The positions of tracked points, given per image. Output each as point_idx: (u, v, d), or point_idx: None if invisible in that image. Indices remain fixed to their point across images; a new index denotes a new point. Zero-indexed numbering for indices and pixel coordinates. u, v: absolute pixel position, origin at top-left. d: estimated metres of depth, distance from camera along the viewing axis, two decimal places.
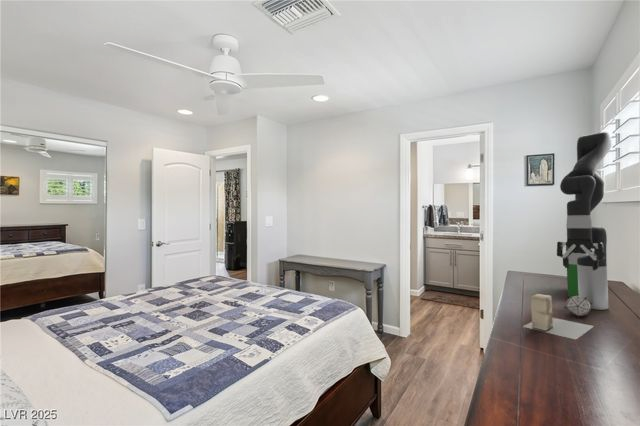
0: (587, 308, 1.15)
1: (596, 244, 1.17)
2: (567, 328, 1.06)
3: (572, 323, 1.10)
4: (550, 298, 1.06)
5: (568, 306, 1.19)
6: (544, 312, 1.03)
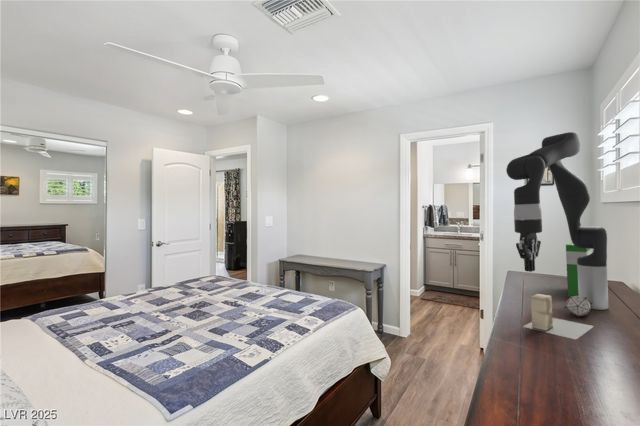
0: (587, 308, 1.15)
1: None
2: (567, 328, 1.06)
3: (572, 323, 1.10)
4: (550, 298, 1.06)
5: (568, 306, 1.19)
6: (544, 312, 1.03)
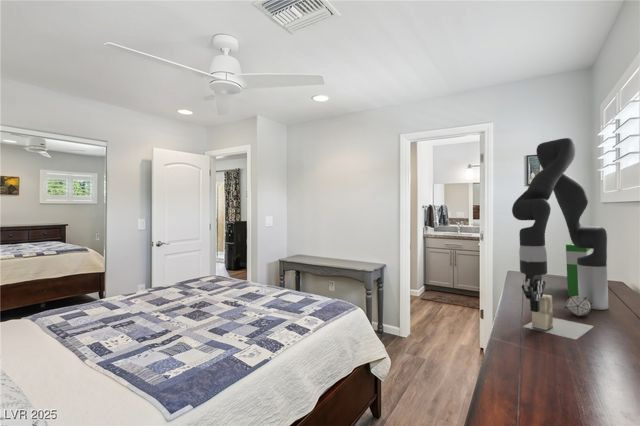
0: (587, 308, 1.15)
1: None
2: (567, 328, 1.06)
3: (572, 323, 1.10)
4: (550, 298, 1.06)
5: (568, 306, 1.19)
6: (545, 311, 1.03)
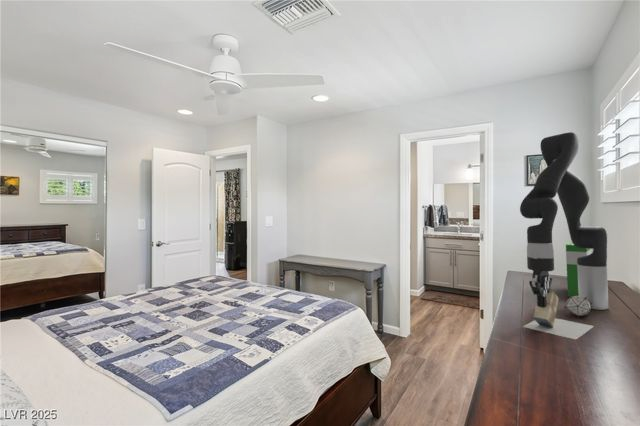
0: (587, 308, 1.15)
1: None
2: (567, 328, 1.06)
3: (572, 323, 1.10)
4: (557, 299, 1.10)
5: (568, 306, 1.19)
6: (550, 302, 1.06)
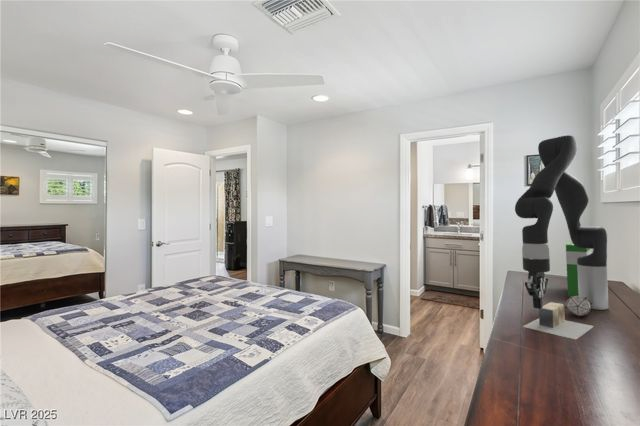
0: (587, 308, 1.15)
1: None
2: (567, 328, 1.06)
3: (572, 323, 1.10)
4: (563, 318, 1.12)
5: (568, 306, 1.19)
6: (559, 306, 1.10)
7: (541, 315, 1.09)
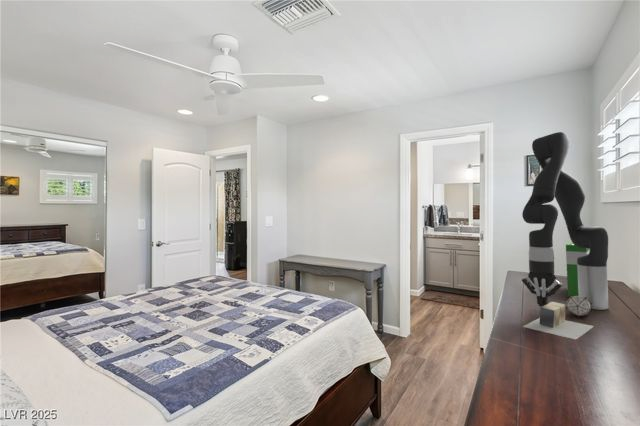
0: (587, 308, 1.15)
1: None
2: (567, 328, 1.06)
3: (572, 323, 1.10)
4: (564, 318, 1.12)
5: (568, 306, 1.19)
6: (560, 307, 1.10)
7: (542, 314, 1.09)
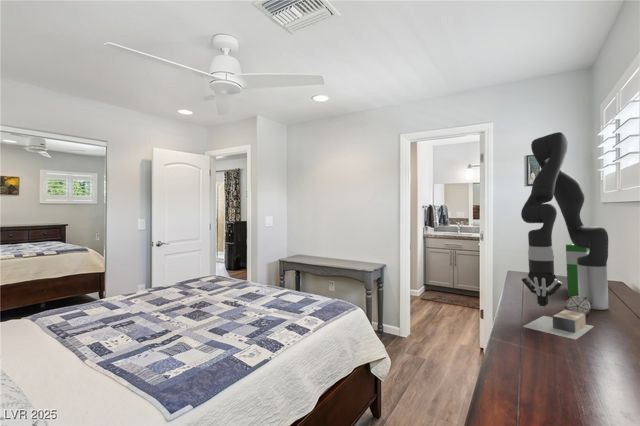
0: (587, 308, 1.15)
1: None
2: None
3: None
4: None
5: (568, 306, 1.19)
6: None
7: (565, 321, 1.04)
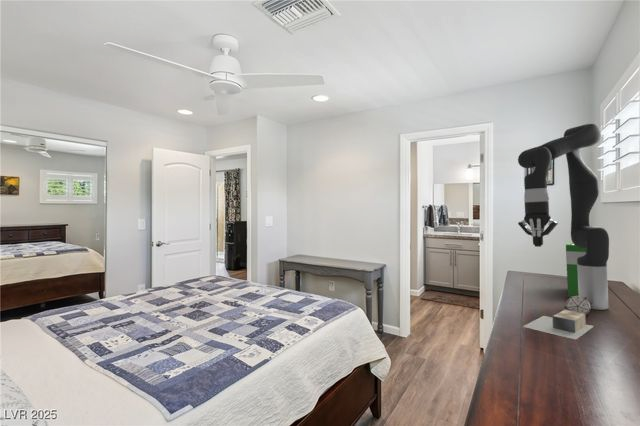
0: (587, 308, 1.15)
1: None
2: None
3: None
4: None
5: (568, 306, 1.19)
6: None
7: (565, 321, 1.04)
